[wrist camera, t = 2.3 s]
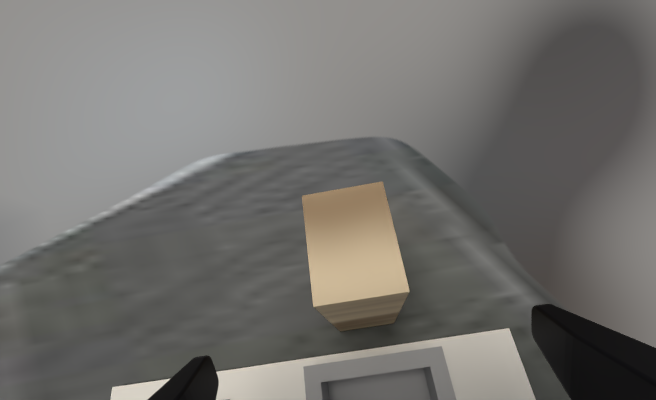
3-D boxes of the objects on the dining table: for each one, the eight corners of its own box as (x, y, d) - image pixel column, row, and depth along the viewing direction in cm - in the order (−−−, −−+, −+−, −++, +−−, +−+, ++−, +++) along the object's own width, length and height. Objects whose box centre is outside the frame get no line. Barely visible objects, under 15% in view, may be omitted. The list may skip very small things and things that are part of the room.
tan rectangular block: (394, 323, 20) (410, 291, 11) (340, 331, 20) (312, 306, 11) (379, 254, 22) (382, 181, 13) (330, 262, 22) (301, 195, 13)
